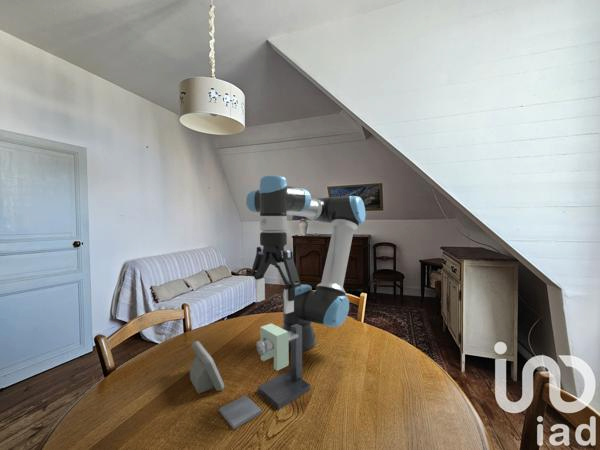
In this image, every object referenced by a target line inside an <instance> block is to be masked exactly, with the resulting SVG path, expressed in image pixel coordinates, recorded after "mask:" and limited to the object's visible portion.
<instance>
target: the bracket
mask: <svg viewBox="0 0 600 450" xmlns="http://www.w3.org/2000/svg"><path fill="white" fill-rule="evenodd" d="M259 329H260V330H259V331H260V332H259V333H260V340H262V341H266V340H269V341H271V342H272V343H274V349H272V350H269V351H267V352H266V354H265V355H263V356H260V360H261V361H262V362H265V361H267V360H269V359H271V358H273V369H274V370H275V371H277V372H278V371H280V370H282V369H284V368H286V367H288V366H289V364H290V362H289V355H290V354H289V351H290V350H289V342H288V331H286V330H284V329H282V327H280V326H278V325H275V324H274V323H268V324H266V325H265V324H264V325H262V326H260V328H259ZM260 340H259V341H260Z"/></svg>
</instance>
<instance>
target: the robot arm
mask: <svg viewBox="0 0 600 450" xmlns="http://www.w3.org/2000/svg"><path fill="white" fill-rule="evenodd" d="M245 203H246V207H247V208H248V210H249V211H251V212H252V213H259V224H260V225H259V230H260V231H262V232H260V233H259V245H260V246H257V247H256V252H255V253H256V254H255V258H254V261H253V265H252V269H251V272H250V275H251V277H253V278H254V279H255V302H262V301H265V300H266V291H265V290H266V288H265V287H266V286H265V285H266V284H265V283H266V278H265V274H266V272H267V270H268V269H269V267H270V265H271V266H274V267H275V268H277V270H278V272H279V275H280V277H281V278H282V282H283V284H284V285H285V287H284V289H283V294H282V319H283V321H282V327H281V328H282V329H284V330H286V331H288V332H289V331H291V326H292V325H295V324H299V325H301V326H302V352H303V351H308V350H310V349H312V348H314V347H315V346H316V343H317V336H316V334H315V330H314V327H313V324H312V323H314V324H318V325H322V326H325V327H330V328H338V327H340V326H342V325H343V324H344V323H345V321H346V319H347V316H348V315H349V310H350V299H349V298H348V297H347V295H346V293H347V291H345V289H344V283H345V278H346V272H347V267H348V262H349V257H350V252H351V246H352V240H353V235H354V233H355V232H356V231H358V229H359V225H362V224H363V223H364V222H365V221H366V207H365V203H364V201H363V199H362V198H361V197H360V196H357V195H347V196H330V197H329V196H327V197H320V198H319V197H318V198H316V197H312V195H311V193H310V192H309V191H308V190H307V189H305V188H303V187H297V186H289V185H288V182H287V179H286V177H285V176H283V175H282V176H281V175H266V176H265V175H264V176H262V177H261V178H260V181H259V189H255V190H251V191H250V192H249V193H247V196H246V198H245ZM287 215H288V216H298V217H305V218H307V219H308V220H312V221H318V222H323V223H328V224H330V225H331V227H332V232H331V236H330V241H329V245H328V250H327V255H326V260H325V264H324V268H323V273H322V278H321V280H320V281H321V282H320V283H318V284H317V285H316V287H315V290H312V289H313V288H312V286H311V285H309V284H302V283H301V280H300V277H299V273H298V271H297V267H296V264H295V261H294V257H293V256H294V255H293V254H294V253H293V250H292V249H287V250H285V246H286V245H287V244H288V241H287V240H288V237H287V235H288V233H287V232H285V231H287V229H288V220H287V219H288V218H287ZM289 351H290V352H291V342H289Z"/></svg>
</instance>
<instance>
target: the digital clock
mask: <svg viewBox="0 0 600 450" xmlns="http://www.w3.org/2000/svg"><path fill="white" fill-rule="evenodd" d="M191 348H192V351H193V352H194V354H195V355H194V356H195V358H194V360H193V362H192V363H191V364H190V366H189V379H190V381H191V384H192V385H193V387H194V388H195V391H196V393H197V394H201V393H204V392H206V391H209V390H212V389H214V390H215V391H216V392H220V391H223V390H224V388H225V384H224V381H223V379H222V376H221V374H220V372H219V370H218V368H217V366H216V362H215V361H214V359H213V357H212V356H211V355H210V353H209V352H208V351H207V349H205V347H204V345H202V343H201V342H200V341H199V340H197V341H196V340H195V341H193V343H192V344H191Z"/></svg>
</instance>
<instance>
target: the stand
mask: <svg viewBox="0 0 600 450" xmlns="http://www.w3.org/2000/svg"><path fill="white" fill-rule="evenodd" d="M288 342H291V351H290V361H291V362H290V370H287V371H285V372H283V373H281V374H279V375H277V376H275V377H273V378H271V379H269V380H268V381H265V382H264V383H262V384H260V385H258V386H257V392H258V393H259V395H261V396H262V397H263V398H264V399H266V400H267V401H268V402H269V403H270V404H271V405H272V406H273V407H274V408H276V409H277V410H280V409H282V408H283V407H285V406H286V405H288V404H290V403H291V402H294V401H295V400H296V399H297V398H300V397H301V396H302V395H305V394H306V393H307V392H309V391H311V384H310V383H309V382H307V381H305V380H304V379H303V351H302V326H301V325H299V324H295V325H292V326H291V331H289V332H288ZM255 347H256V351H257V353H258V355H259V356H260V357H261V356H263V355H265V354H266V352H267V351H269V350H272V349H274V343H272V342H271V341H269V340H266V341H262V340H258V341H257V342H256V345H255Z"/></svg>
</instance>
